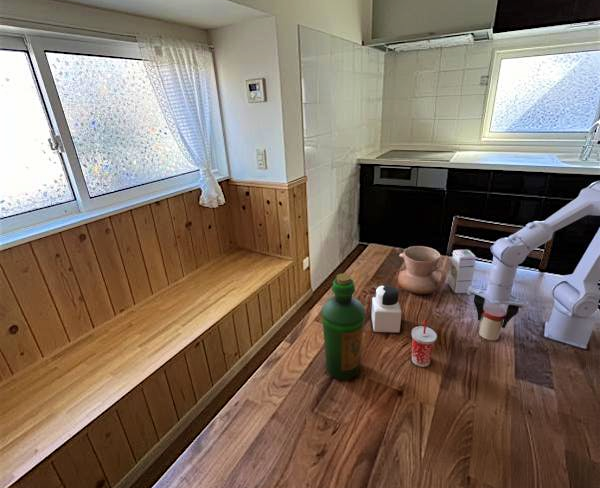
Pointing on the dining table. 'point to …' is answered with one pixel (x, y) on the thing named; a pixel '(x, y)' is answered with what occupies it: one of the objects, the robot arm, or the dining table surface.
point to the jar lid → (494, 312)
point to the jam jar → (490, 328)
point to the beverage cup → (422, 344)
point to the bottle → (343, 329)
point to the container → (386, 310)
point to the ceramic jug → (421, 270)
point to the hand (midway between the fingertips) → (491, 322)
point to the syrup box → (462, 270)
